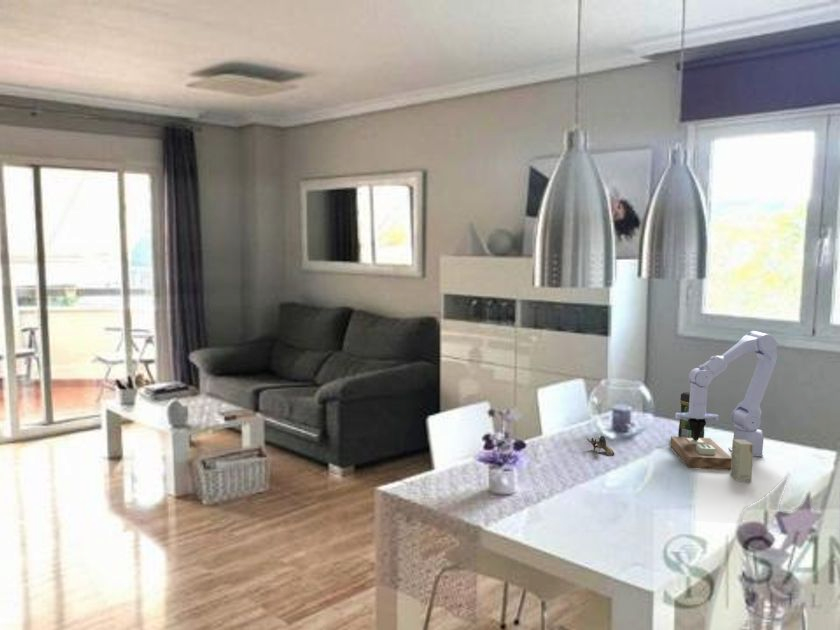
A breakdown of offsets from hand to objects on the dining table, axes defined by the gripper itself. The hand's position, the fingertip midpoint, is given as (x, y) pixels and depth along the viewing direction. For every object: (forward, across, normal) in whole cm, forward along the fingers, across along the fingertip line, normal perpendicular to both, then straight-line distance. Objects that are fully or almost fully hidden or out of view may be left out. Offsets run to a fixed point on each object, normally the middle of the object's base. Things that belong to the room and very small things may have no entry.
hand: (695, 439), depth 253 cm
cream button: (+4, 0, 0) cm, 4 cm away
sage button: (+2, 0, -12) cm, 12 cm away
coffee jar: (+5, +4, +19) cm, 20 cm away
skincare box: (+5, +7, -26) cm, 27 cm away
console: (+5, 0, -6) cm, 8 cm away
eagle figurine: (+5, -34, -5) cm, 34 cm away
